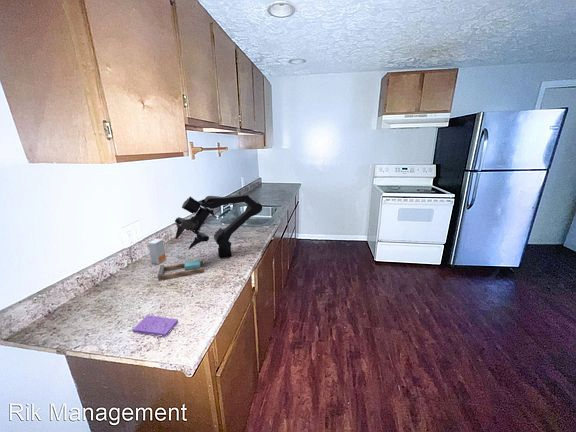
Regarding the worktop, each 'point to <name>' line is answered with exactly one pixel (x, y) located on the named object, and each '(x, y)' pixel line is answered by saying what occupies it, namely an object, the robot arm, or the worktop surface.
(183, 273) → the guide channel
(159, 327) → the sponges
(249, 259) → the worktop surface
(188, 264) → the block
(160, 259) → the skincare box
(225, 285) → the worktop surface
